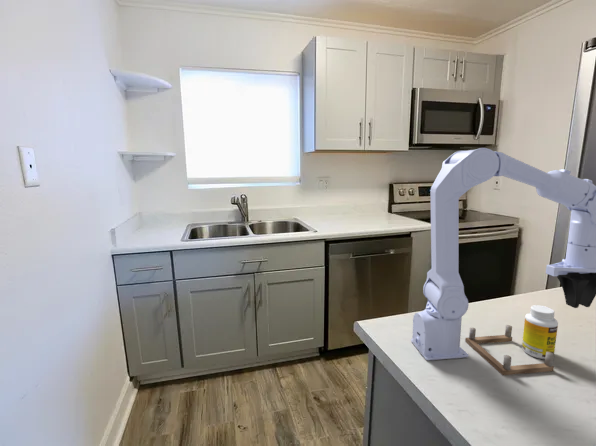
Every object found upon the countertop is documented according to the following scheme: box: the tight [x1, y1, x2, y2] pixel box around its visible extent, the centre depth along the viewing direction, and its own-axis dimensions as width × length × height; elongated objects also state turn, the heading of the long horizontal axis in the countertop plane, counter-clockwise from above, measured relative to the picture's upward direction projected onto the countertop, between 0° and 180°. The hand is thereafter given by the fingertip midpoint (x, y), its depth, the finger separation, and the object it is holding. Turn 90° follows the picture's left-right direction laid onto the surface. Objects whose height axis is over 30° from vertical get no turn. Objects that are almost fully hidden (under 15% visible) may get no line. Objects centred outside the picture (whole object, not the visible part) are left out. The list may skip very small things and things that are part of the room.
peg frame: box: [464, 324, 555, 376], centre depth 66 cm, size 11×12×4 cm
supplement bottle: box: [521, 304, 559, 360], centre depth 66 cm, size 6×6×10 cm
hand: (577, 305), depth 66 cm, fingers open, 2 cm apart
